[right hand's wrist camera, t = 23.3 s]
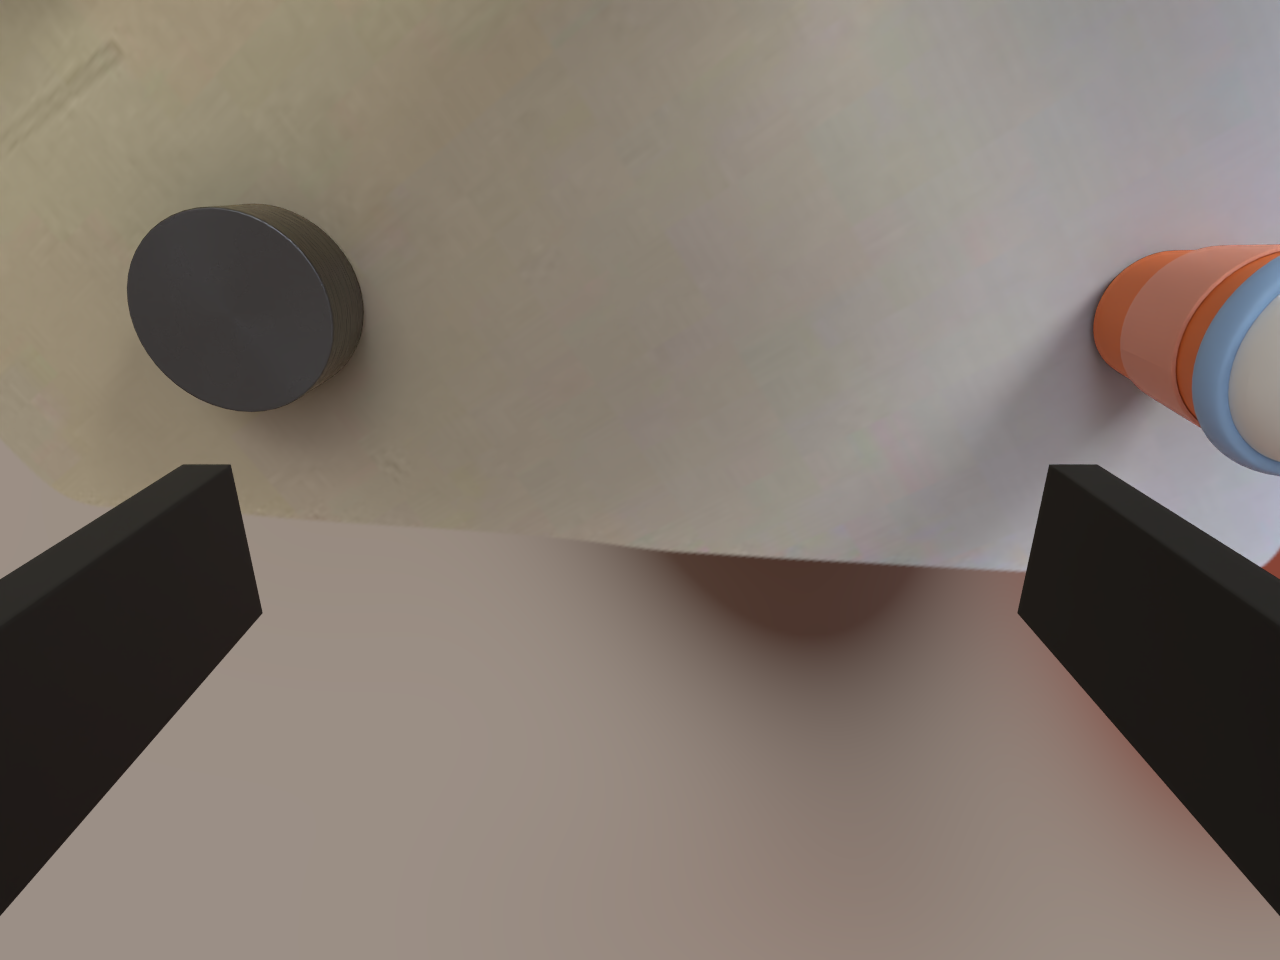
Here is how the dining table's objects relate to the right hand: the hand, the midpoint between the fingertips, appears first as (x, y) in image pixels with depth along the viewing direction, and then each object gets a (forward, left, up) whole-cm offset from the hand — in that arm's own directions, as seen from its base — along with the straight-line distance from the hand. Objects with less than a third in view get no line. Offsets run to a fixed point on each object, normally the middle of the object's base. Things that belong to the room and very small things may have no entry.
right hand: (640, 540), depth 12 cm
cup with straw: (+1, +25, -27) cm, 37 cm away
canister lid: (0, -18, -27) cm, 32 cm away
